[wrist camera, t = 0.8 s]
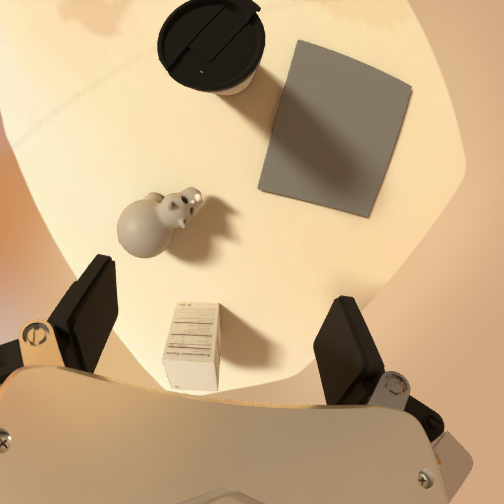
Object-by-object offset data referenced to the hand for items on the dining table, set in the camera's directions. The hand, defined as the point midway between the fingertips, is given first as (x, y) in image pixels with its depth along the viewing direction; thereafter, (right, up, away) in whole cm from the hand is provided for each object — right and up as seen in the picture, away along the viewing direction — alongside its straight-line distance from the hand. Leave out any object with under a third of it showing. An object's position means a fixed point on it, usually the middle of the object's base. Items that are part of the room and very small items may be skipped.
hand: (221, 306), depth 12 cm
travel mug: (-2, +24, +18) cm, 30 cm away
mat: (+12, +17, +22) cm, 30 cm away
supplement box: (-8, -9, +37) cm, 38 cm away
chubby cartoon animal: (-10, +8, +27) cm, 30 cm away
